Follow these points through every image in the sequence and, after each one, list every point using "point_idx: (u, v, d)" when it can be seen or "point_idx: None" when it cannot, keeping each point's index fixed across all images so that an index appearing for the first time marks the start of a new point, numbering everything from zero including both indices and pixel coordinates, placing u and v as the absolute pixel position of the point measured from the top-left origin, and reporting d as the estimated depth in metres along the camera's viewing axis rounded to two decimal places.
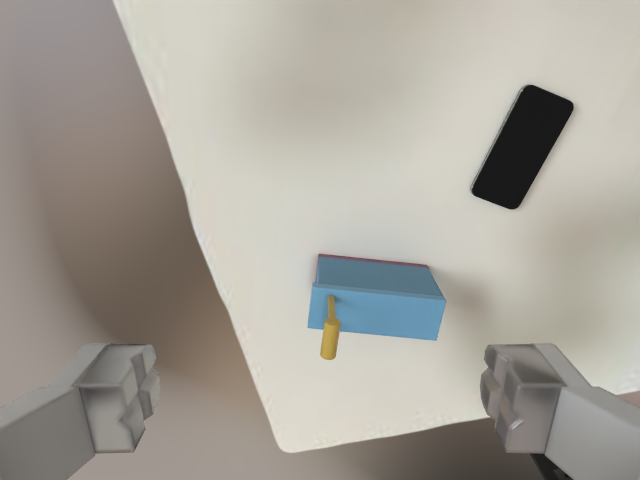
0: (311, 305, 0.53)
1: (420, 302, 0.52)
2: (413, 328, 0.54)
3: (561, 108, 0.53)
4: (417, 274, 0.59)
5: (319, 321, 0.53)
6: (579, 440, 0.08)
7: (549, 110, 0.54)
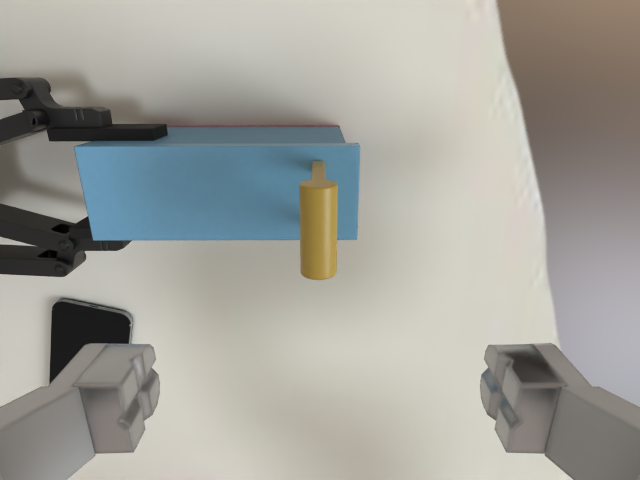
0: (355, 200, 0.26)
1: (140, 231, 0.26)
2: (134, 172, 0.25)
3: None
4: None
5: (335, 165, 0.25)
6: (579, 440, 0.08)
7: None
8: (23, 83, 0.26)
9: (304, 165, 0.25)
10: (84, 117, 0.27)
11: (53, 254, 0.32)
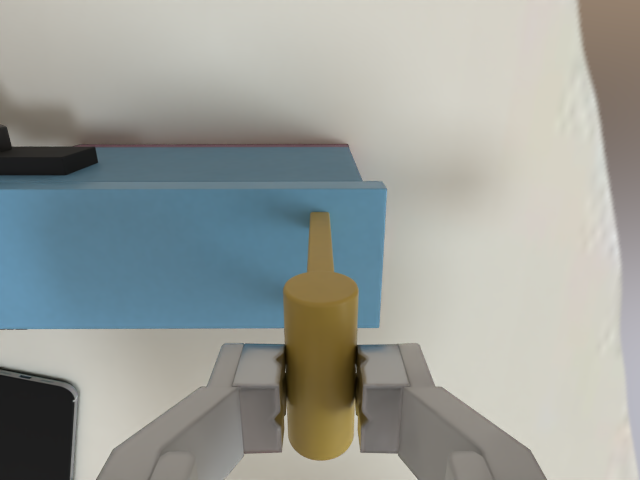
0: (378, 271, 0.16)
1: (45, 316, 0.17)
2: (26, 229, 0.16)
3: None
4: None
5: (347, 218, 0.16)
6: (418, 440, 0.08)
7: None
8: None
9: (297, 218, 0.16)
10: None
11: None
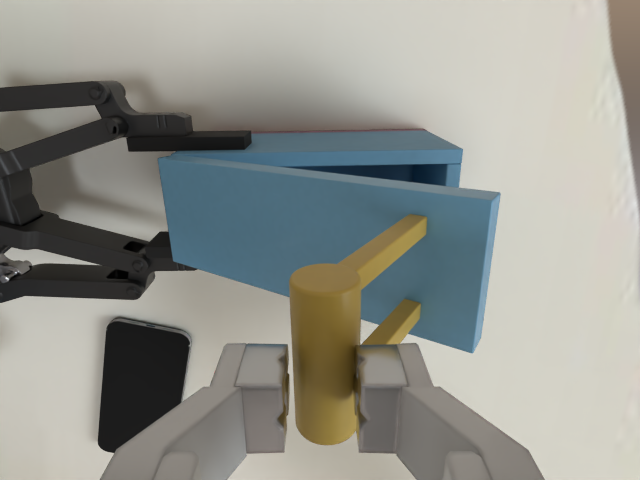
0: (476, 291, 0.15)
1: (210, 263, 0.22)
2: (204, 195, 0.21)
3: (113, 444, 0.41)
4: None
5: (445, 226, 0.15)
6: (417, 440, 0.08)
7: (127, 440, 0.41)
8: (102, 87, 0.23)
9: (396, 218, 0.16)
10: (166, 124, 0.24)
11: (120, 274, 0.29)
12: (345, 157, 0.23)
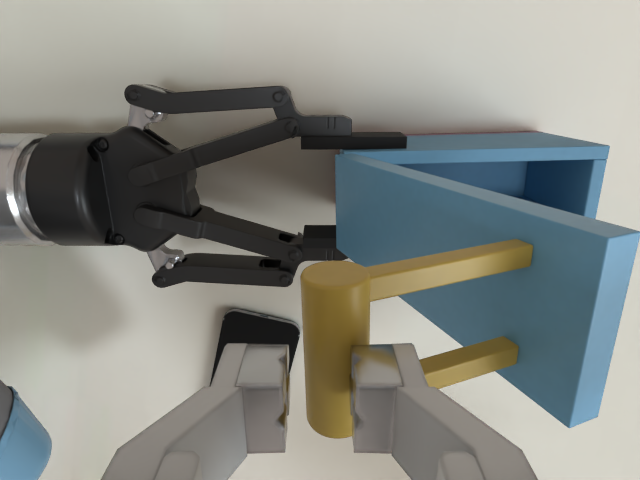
0: (579, 350, 0.12)
1: (358, 255, 0.24)
2: (360, 191, 0.22)
3: None
4: None
5: (552, 260, 0.12)
6: (412, 440, 0.08)
7: None
8: (285, 91, 0.26)
9: None
10: (335, 125, 0.27)
11: (266, 263, 0.31)
12: (502, 153, 0.25)
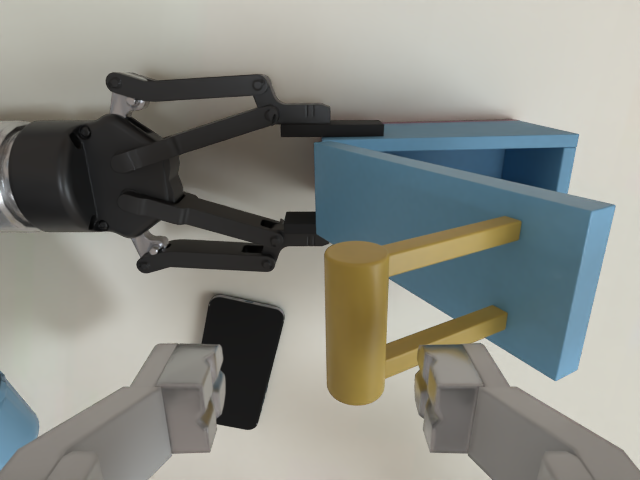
0: (565, 312, 0.13)
1: (341, 240, 0.25)
2: (342, 177, 0.23)
3: None
4: None
5: (539, 233, 0.13)
6: (495, 440, 0.08)
7: None
8: (264, 79, 0.26)
9: (492, 219, 0.15)
10: (314, 113, 0.27)
11: (249, 249, 0.32)
12: (475, 141, 0.26)
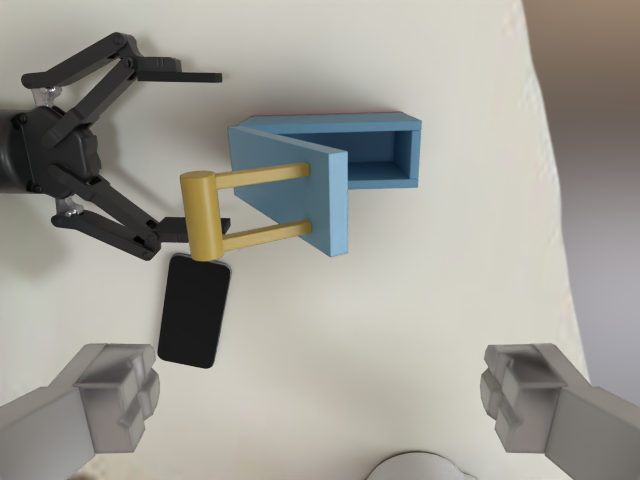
0: (328, 213, 0.23)
1: (246, 195, 0.35)
2: (242, 150, 0.33)
3: (169, 354, 0.54)
4: None
5: (315, 170, 0.23)
6: (579, 440, 0.08)
7: (179, 351, 0.54)
8: (120, 34, 0.35)
9: None
10: (163, 64, 0.36)
11: (140, 239, 0.43)
12: (347, 126, 0.36)
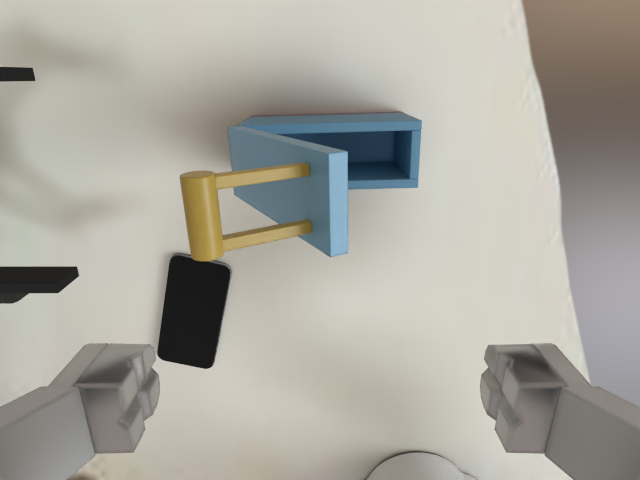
0: (328, 213, 0.23)
1: (246, 195, 0.35)
2: (242, 150, 0.33)
3: (169, 354, 0.54)
4: None
5: (315, 170, 0.23)
6: (579, 440, 0.08)
7: (179, 351, 0.54)
8: None
9: None
10: None
11: None
12: (347, 126, 0.36)
